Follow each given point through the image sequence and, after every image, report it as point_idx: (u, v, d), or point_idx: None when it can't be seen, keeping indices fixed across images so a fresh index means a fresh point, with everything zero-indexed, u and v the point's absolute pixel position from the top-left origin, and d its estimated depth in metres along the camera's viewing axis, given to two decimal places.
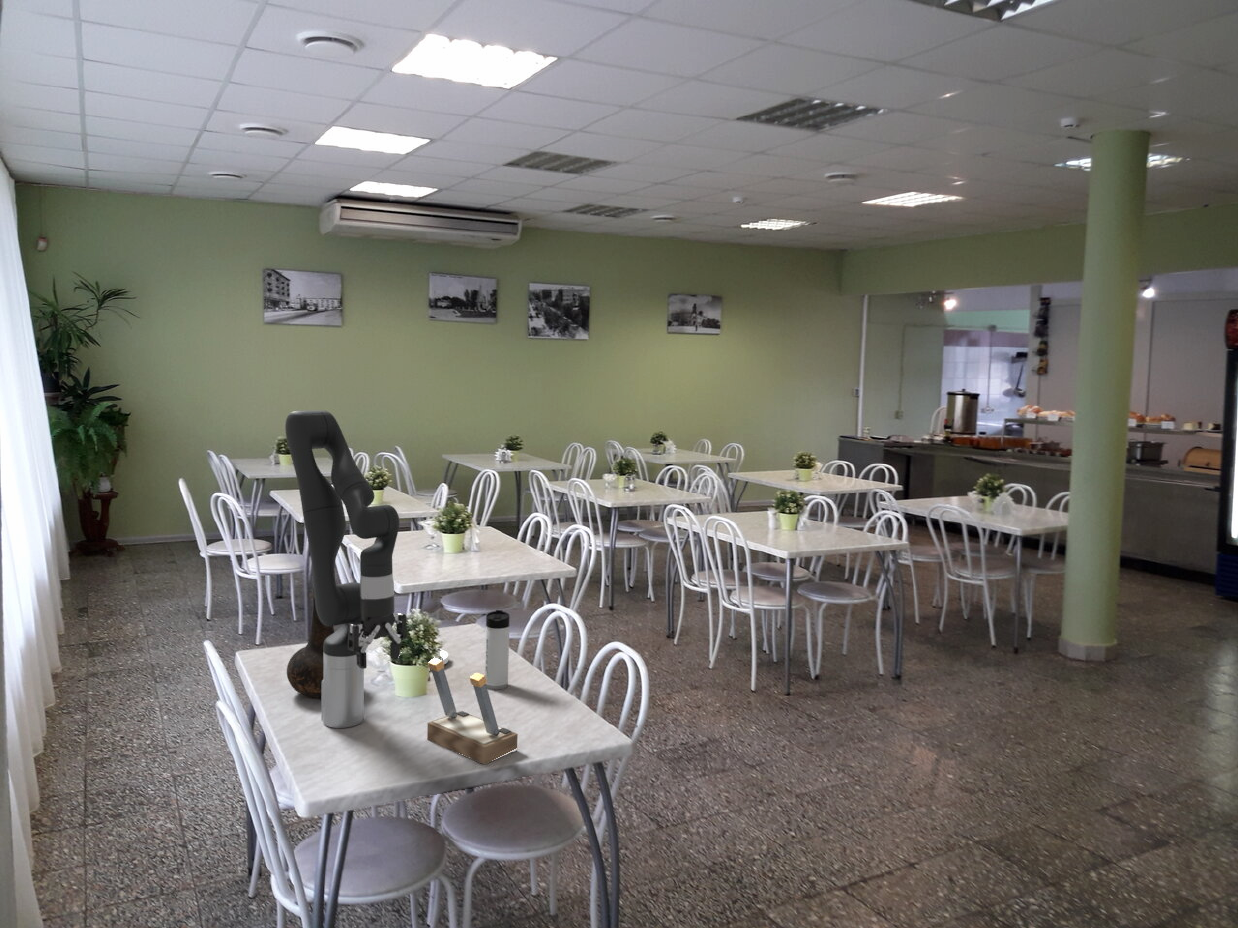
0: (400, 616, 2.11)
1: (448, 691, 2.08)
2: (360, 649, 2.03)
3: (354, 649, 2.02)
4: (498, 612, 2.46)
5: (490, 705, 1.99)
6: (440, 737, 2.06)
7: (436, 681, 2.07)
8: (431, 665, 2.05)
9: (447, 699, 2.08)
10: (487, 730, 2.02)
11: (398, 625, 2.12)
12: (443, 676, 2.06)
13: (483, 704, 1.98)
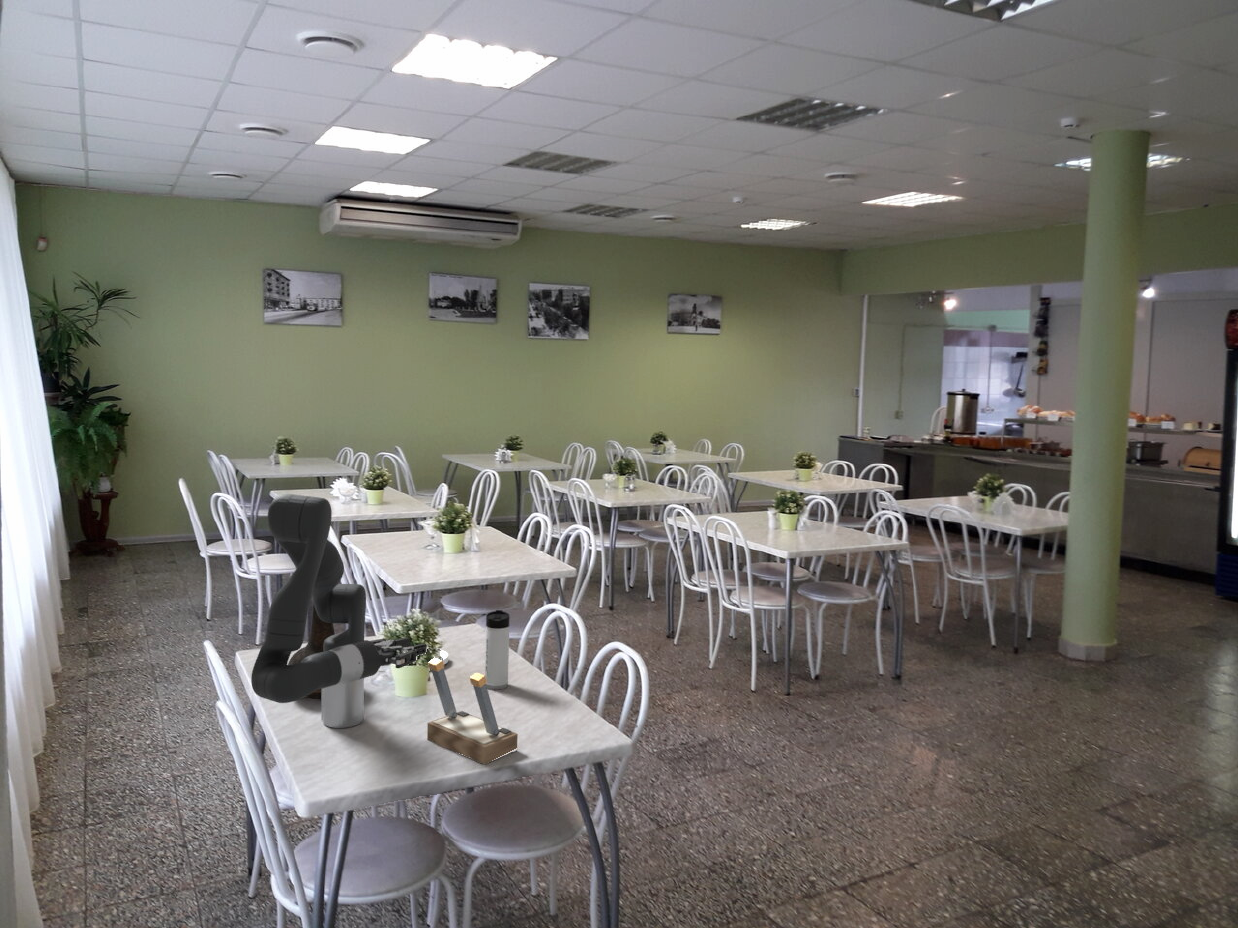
0: None
1: (448, 691, 2.08)
2: None
3: None
4: (498, 612, 2.46)
5: (490, 705, 1.99)
6: (440, 737, 2.06)
7: (436, 681, 2.07)
8: (431, 665, 2.05)
9: (447, 699, 2.08)
10: (487, 730, 2.02)
11: None
12: (443, 676, 2.06)
13: (483, 704, 1.98)
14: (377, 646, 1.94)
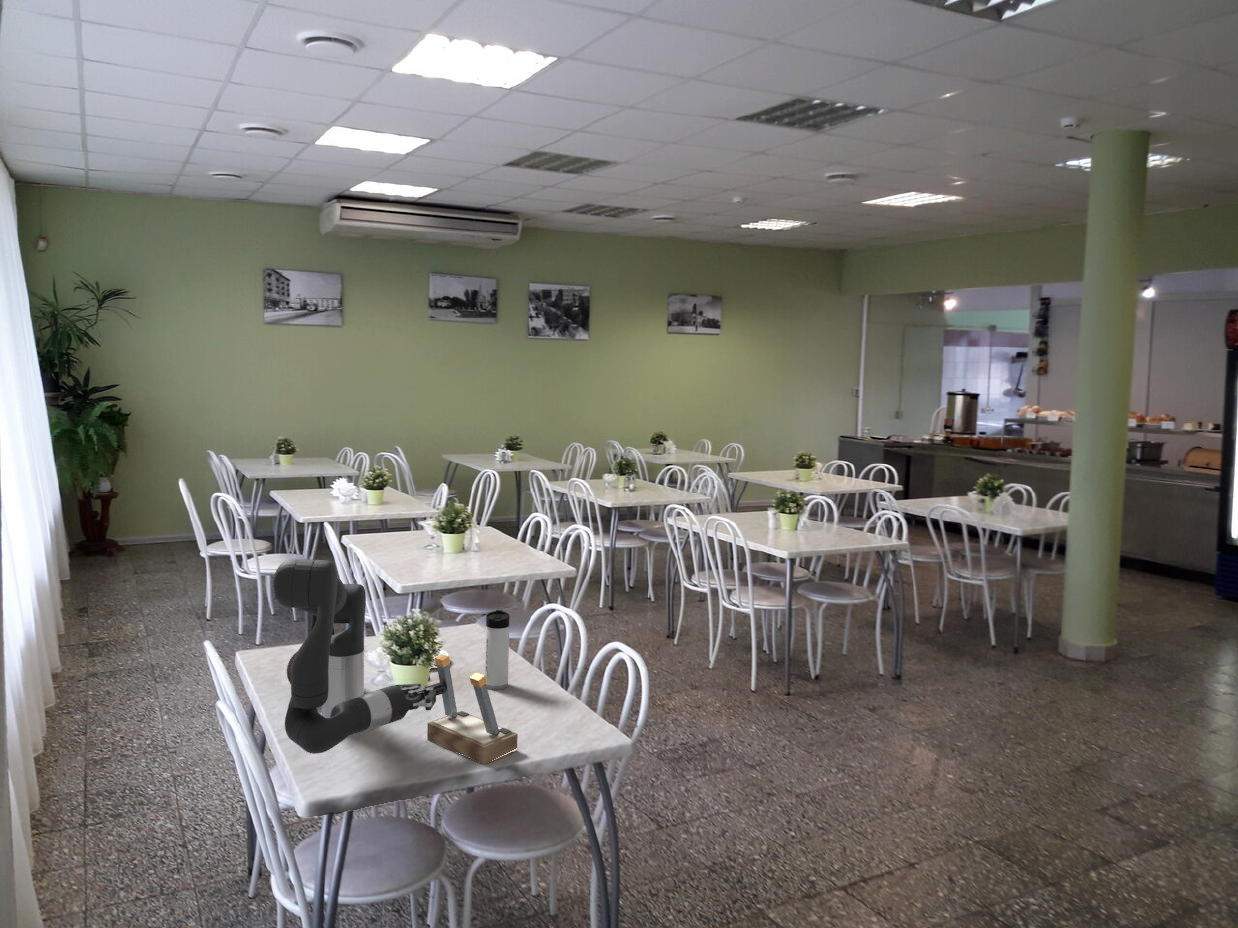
0: (425, 707, 1.98)
1: (451, 689, 2.09)
2: None
3: None
4: (498, 612, 2.46)
5: (490, 705, 1.99)
6: (440, 737, 2.06)
7: (440, 678, 2.08)
8: (437, 660, 2.07)
9: (450, 698, 2.09)
10: (487, 730, 2.02)
11: None
12: (448, 673, 2.07)
13: (483, 704, 1.98)
14: (403, 690, 2.01)
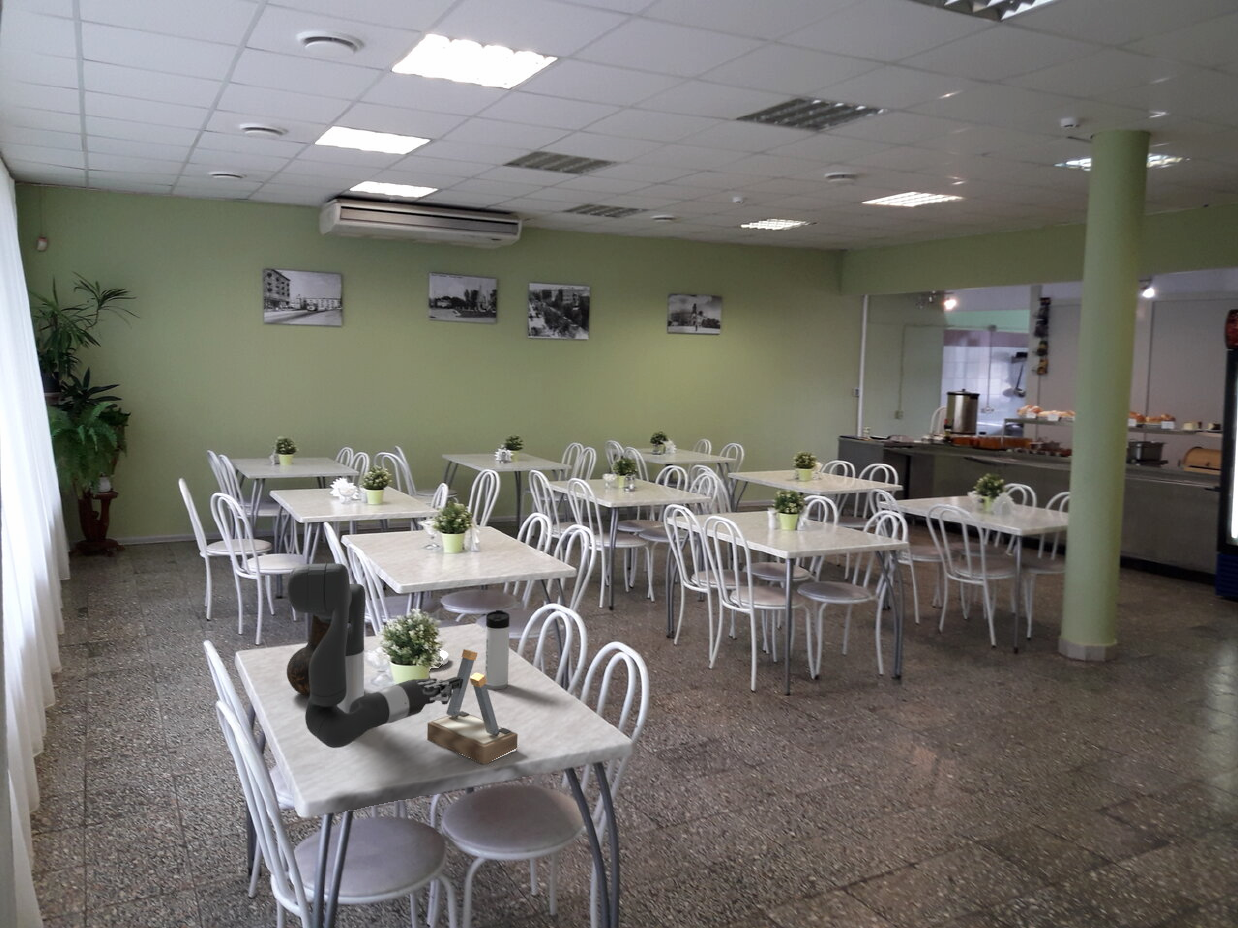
0: (441, 701, 2.01)
1: (464, 686, 2.12)
2: None
3: None
4: (498, 612, 2.46)
5: (490, 705, 1.99)
6: (440, 737, 2.06)
7: (460, 671, 2.13)
8: (466, 652, 2.13)
9: (460, 694, 2.11)
10: (487, 730, 2.02)
11: None
12: (469, 668, 2.12)
13: (483, 704, 1.98)
14: (419, 685, 2.04)
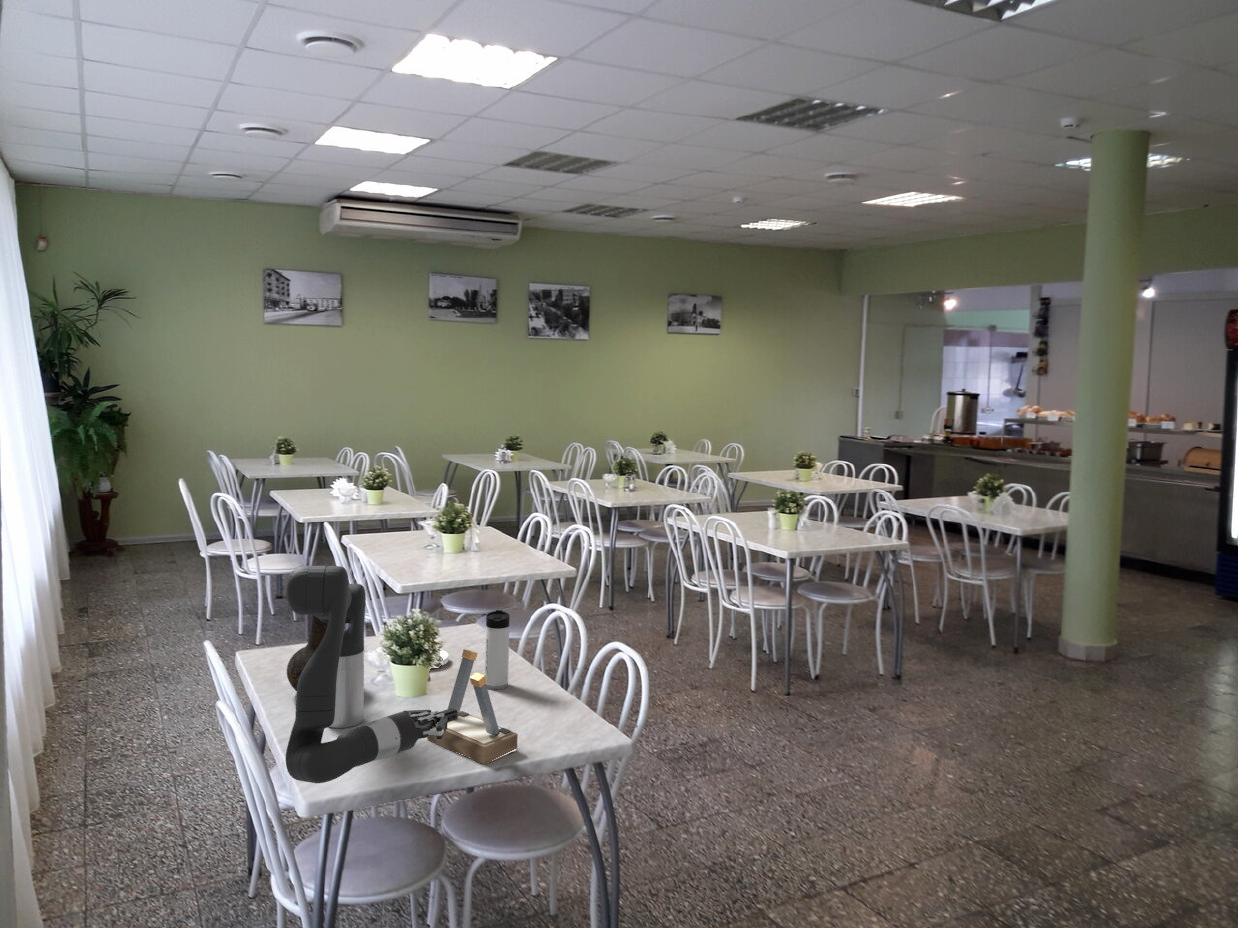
0: (436, 735, 1.84)
1: (464, 686, 2.12)
2: None
3: None
4: (498, 612, 2.46)
5: (490, 705, 1.99)
6: None
7: (460, 671, 2.13)
8: (466, 652, 2.13)
9: (460, 694, 2.11)
10: (487, 730, 2.02)
11: None
12: (469, 668, 2.12)
13: (483, 704, 1.98)
14: (412, 717, 1.87)
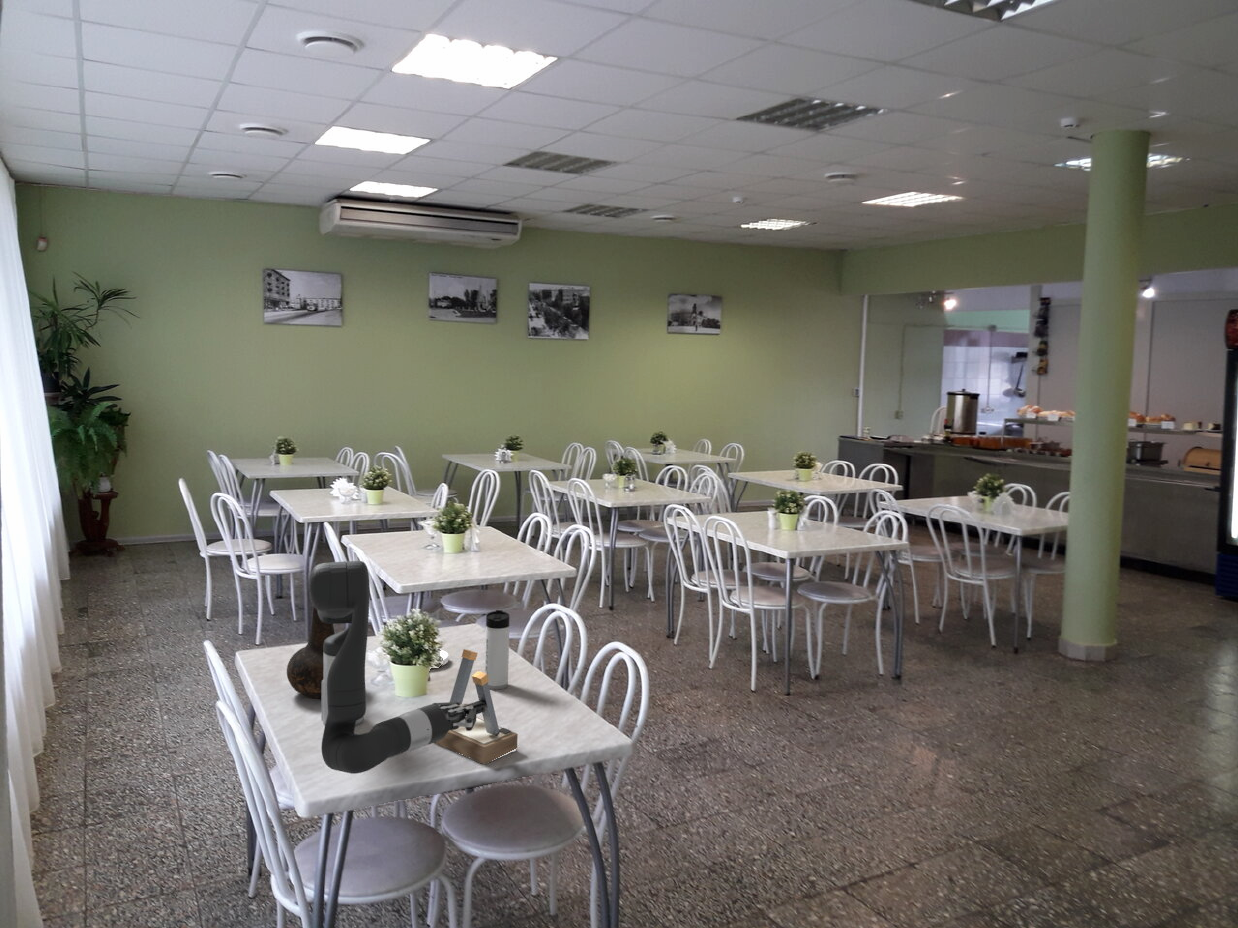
0: (466, 727, 1.89)
1: (464, 686, 2.12)
2: None
3: None
4: (498, 612, 2.46)
5: (491, 704, 1.99)
6: None
7: (460, 671, 2.13)
8: (466, 652, 2.13)
9: (460, 694, 2.11)
10: (487, 730, 2.02)
11: None
12: (469, 668, 2.12)
13: (485, 703, 1.99)
14: (442, 709, 1.91)
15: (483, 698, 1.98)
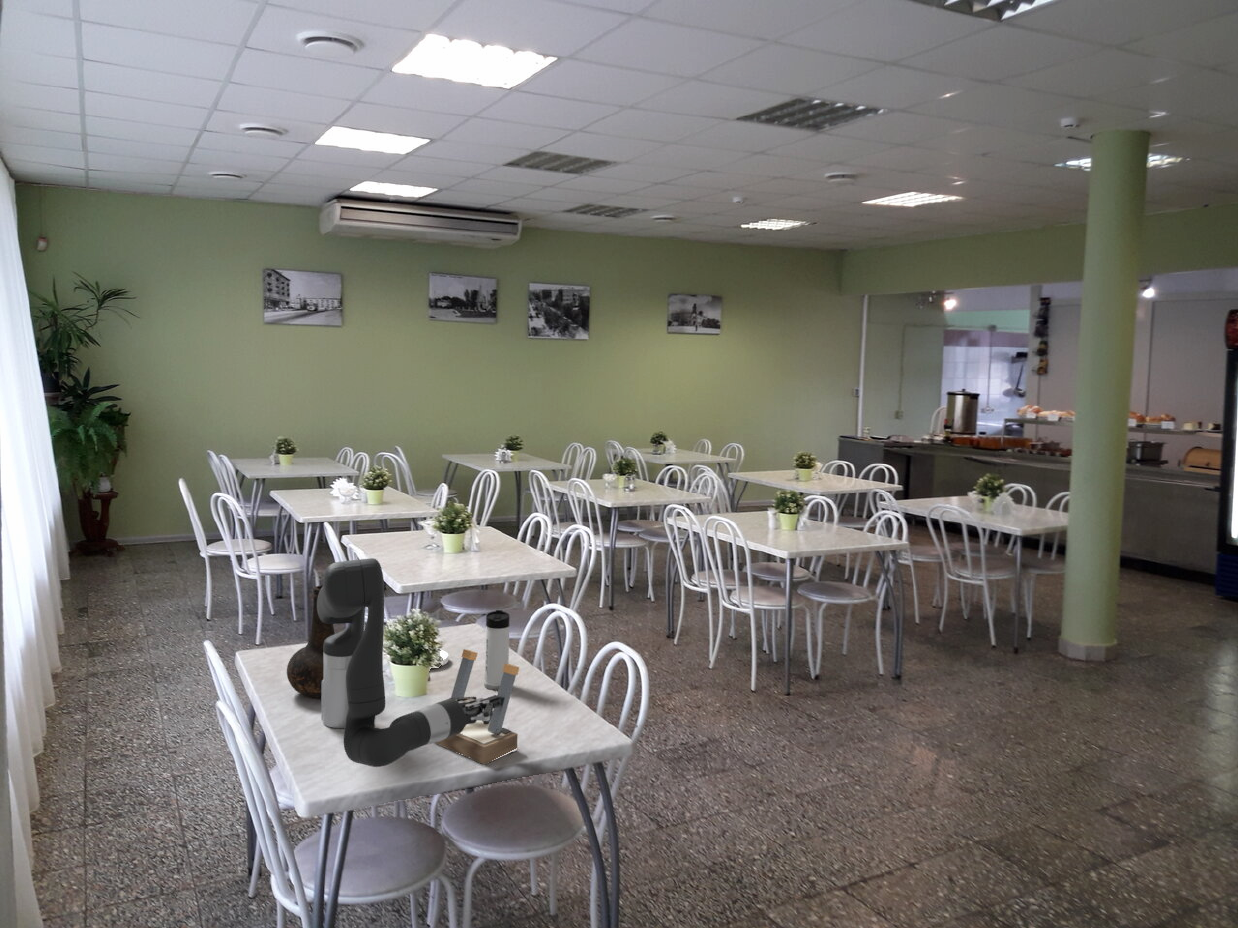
0: (483, 721, 1.92)
1: (464, 686, 2.12)
2: None
3: None
4: (498, 612, 2.46)
5: (507, 700, 2.03)
6: None
7: (460, 671, 2.13)
8: (466, 652, 2.13)
9: (460, 694, 2.11)
10: (490, 727, 2.02)
11: None
12: (469, 668, 2.12)
13: (503, 695, 2.03)
14: (459, 704, 1.95)
15: (504, 689, 2.03)
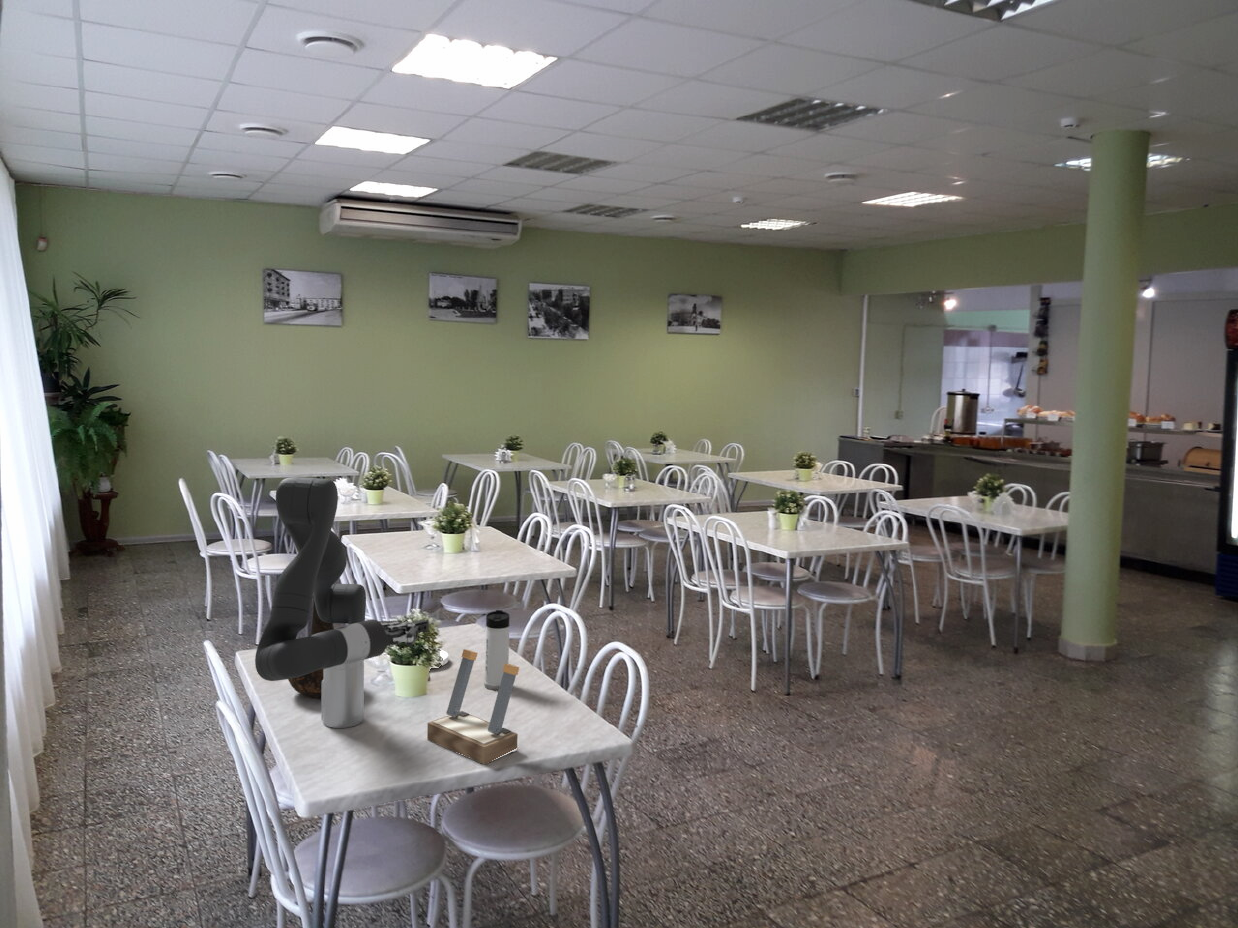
0: (406, 642, 1.86)
1: (464, 686, 2.12)
2: None
3: None
4: (498, 612, 2.46)
5: (507, 700, 2.03)
6: (440, 737, 2.06)
7: (460, 671, 2.13)
8: (466, 652, 2.13)
9: (460, 694, 2.11)
10: (490, 727, 2.02)
11: None
12: (469, 668, 2.12)
13: (503, 695, 2.03)
14: (382, 626, 1.88)
15: (504, 689, 2.03)
